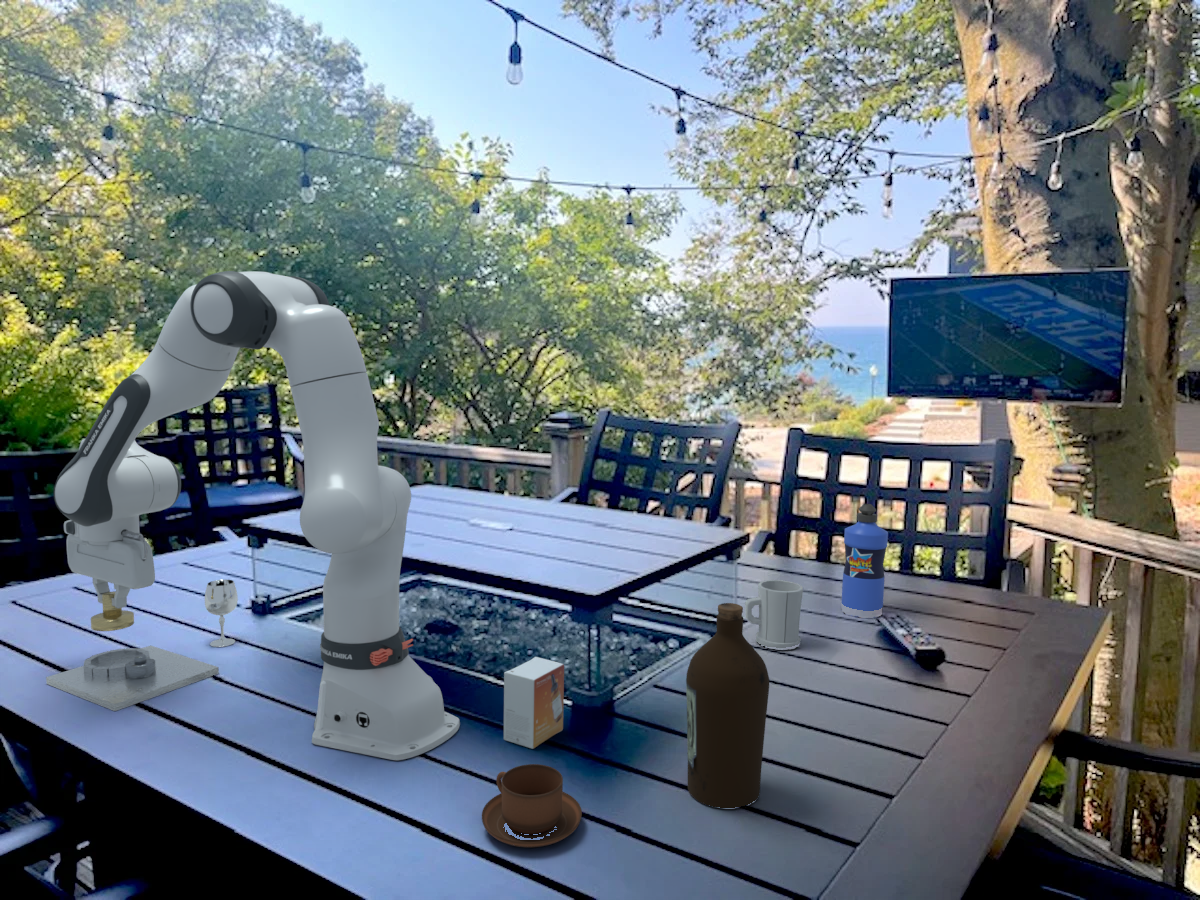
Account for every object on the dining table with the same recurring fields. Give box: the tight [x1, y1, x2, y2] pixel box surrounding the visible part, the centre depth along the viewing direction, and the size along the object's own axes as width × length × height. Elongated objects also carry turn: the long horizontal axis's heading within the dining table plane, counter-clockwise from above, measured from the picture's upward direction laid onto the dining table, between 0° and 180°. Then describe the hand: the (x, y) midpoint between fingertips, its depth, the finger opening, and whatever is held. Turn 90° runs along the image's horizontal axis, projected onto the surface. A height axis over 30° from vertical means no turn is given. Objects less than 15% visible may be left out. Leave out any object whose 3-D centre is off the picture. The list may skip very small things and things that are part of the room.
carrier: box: [45, 645, 220, 712], centre depth 138 cm, size 20×18×4 cm
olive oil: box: [685, 602, 770, 808], centre depth 104 cm, size 11×11×25 cm
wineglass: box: [204, 579, 239, 648], centre depth 155 cm, size 6×6×12 cm
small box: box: [503, 656, 565, 750], centre depth 120 cm, size 8×6×10 cm
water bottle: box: [840, 503, 889, 611], centre depth 182 cm, size 9×9×25 cm
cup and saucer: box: [481, 763, 583, 848], centre depth 97 cm, size 12×12×6 cm
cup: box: [744, 579, 804, 648], centre depth 161 cm, size 10×9×12 cm
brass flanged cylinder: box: [90, 590, 135, 632], centre depth 139 cm, size 6×6×6 cm
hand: (112, 604), depth 139 cm, fingers closed on brass flanged cylinder, 3 cm apart
